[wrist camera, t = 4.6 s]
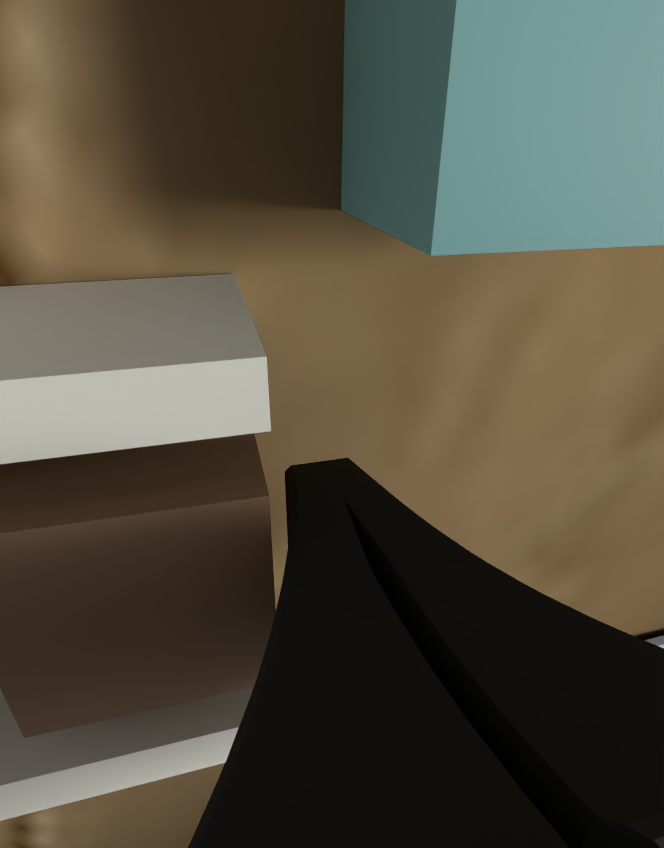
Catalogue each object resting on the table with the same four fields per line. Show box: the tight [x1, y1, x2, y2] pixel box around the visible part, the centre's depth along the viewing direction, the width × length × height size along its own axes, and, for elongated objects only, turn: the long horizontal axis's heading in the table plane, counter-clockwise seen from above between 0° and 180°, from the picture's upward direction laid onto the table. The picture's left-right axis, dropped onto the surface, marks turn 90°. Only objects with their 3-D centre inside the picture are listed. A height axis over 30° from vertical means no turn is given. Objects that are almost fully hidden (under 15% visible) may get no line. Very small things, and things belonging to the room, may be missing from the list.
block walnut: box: [0, 433, 276, 738], centre depth 9 cm, size 4×4×4 cm
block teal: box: [341, 0, 664, 256], centre depth 7 cm, size 4×4×4 cm
